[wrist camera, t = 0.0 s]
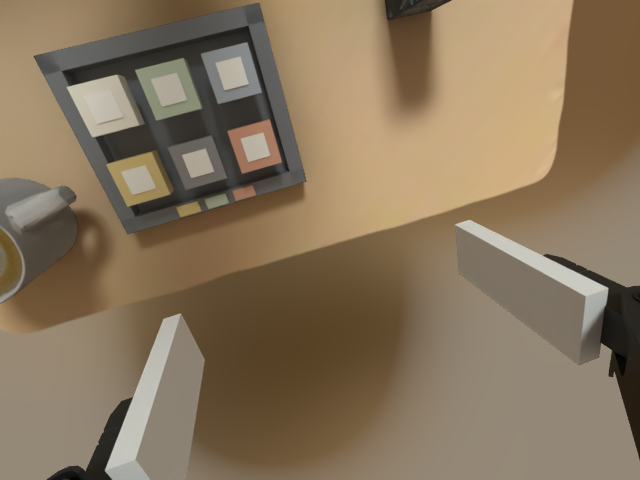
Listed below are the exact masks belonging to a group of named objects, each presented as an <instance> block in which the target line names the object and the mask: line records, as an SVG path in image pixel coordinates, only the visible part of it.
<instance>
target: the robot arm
mask: <svg viewBox="0 0 640 480" xmlns="http://www.w3.org/2000/svg"><path fill="white" fill-rule="evenodd" d="M455 230H456V231H455V232H456V244H457V256H458V269H459V274H460V275H461V276H463V277H464V278H465V279H467V280H468V281H469V282H471V283H472V284H473V285H475V286H476V287H477V288H478V289H480V290H481V291H482V292H484V293H485V294H486V295H487V296H489V297H490V298H491V299H493V300H494V301H495V302H497V303H498V304H499V305H500V306H502V307H503V308H504V309H506V310H507V311H508V312H510V313H511V314H512V315H514V316H515V317H516V318H517V319H519V320H520V321H521V322H523V323H524V324H525V325H527V326H528V327H529V328H530V329H532V330H533V331H534V332H536V333H537V334H538V335H540V336H541V337H542V338H544V339H545V340H546V341H548V342H549V343H550V344H552V345H553V346H554V347H555V348H557V349H558V350H559V351H561V352H562V353H563V354H565V355H566V356H567V357H568V358H570V359H571V360H572V361H574V362H575V363H576V364H577V365H581V364H584V363H586V362H589V361H591V360H594V359H597V358H599V354H600V347H601V343H602V344H604V345H605V346H607V347H608V348H610V349H611V350H612V354H611V361H610V368H609V377H613V373H614V372H615V374H616V377H617V381H618V385H619V388H620V392H621V395H622V399H623V402H624V405H625V409H626V413H627V416H628V420H629V423H630V427H631V430H632V434H633V437H634V441H635V444H636V448H637V452H638V455H639V459H640V286H632V287H628V288H627V287H625V286H622V285H620V284H618V283H616V282H614V281H611V280H609V279H607V278H605V277H603V276H601V275H599V274H596V273H594V272H592V271H590V270H587V269H586V268H584V267H582V266H579V265H576V264H575V263H573V262H571V261H568V260H566V259H564V258H561V257H557V256H553V255H549V254H546V255H543V256H542V255H540V254H537V253H536V252H534V251H532V250H529V249H528V248H525V247H524V246H521V245H520V244H518V243H515V242H513V241H511V240H509V239H507V238H505V237H503V236H501V235H499V234H497V233H495V232H493V231H491V230H489V229H487V228H485V227H483V226H481V225H479V224H476V223H475V222H473V221H471V220H468V221H465V222H462V223H459V224H455ZM204 361H205V359H204V358H203V355H202V353H201V352H200V350H199V348H198V346H197V344H196V342H195V340H194V338H193V336H192V334H191V332H190V330H189V328H188V326H187V324H186V322H185V320H184V318H183V316H182V314H181V313H180V314H177V315H174V316H171V317H168V318H165V319H163V322H162V325H161V327H160V329H159V332H158V335H157V337H156V340H155V342H154V345H153V347H152V350H151V353H150V355H149V358H148V360H147V363H146V366H145V368H144V371H143V373H142V376H141V379H140V381H139V384H138V386H137V389H136V392H135V394H134V397H132V398H129V399H126V400H124V401H121V403H120V404H119V405H118V406H117V408H116V409H115V410H114V411H113V413H112V414H111V415H110V417H109V419H108V422H107V424H106V426H105V428H104V433H102V435H101V437H100V440H99V445H97V447H96V449H95V451H94V453H93V456H92V458H91V460H90V463H89V465H88V467H87V469H86V472H85V471H84V470H83V469H82V468H81V467H79V466H69V467H67V468H65V469H62V470H60V471H58V472H57V473H55V474H54V475H52V476H51V477H50V478H48V479H47V480H186V476H187V469H188V463H189V457H190V451H191V444H192V438H193V432H194V425H195V419H196V413H197V406H198V400H199V394H200V387H201V381H202V375H203V368H204Z"/></svg>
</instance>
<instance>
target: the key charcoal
mask: <svg viewBox="0 0 640 480" xmlns="http://www.w3.org/2000/svg"><path fill="white" fill-rule="evenodd" d="M168 149H169V152H170V154H171V156H172V159H173V161H174V163H175V166H176V168H177V171H178V173H179V175H180V178H181V180H182V182H183V185H184V187H185V189H186V190H188V189H191V188H195V187H198V186H201V185H205V184H208V183H212V182H215V181H219V180H222V179H226V178H227V177H228V173H227V170H226V168H225V165H224V162H223V159H222V157H221V154H220V151H219V148H218V146H217V143H216V140H215V137H214V134H213V135H209V136H206V137H202V138H198V139H195V140H191V141H187V142H184V143H180V144H176V145H173V146H170V147H168Z"/></svg>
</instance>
